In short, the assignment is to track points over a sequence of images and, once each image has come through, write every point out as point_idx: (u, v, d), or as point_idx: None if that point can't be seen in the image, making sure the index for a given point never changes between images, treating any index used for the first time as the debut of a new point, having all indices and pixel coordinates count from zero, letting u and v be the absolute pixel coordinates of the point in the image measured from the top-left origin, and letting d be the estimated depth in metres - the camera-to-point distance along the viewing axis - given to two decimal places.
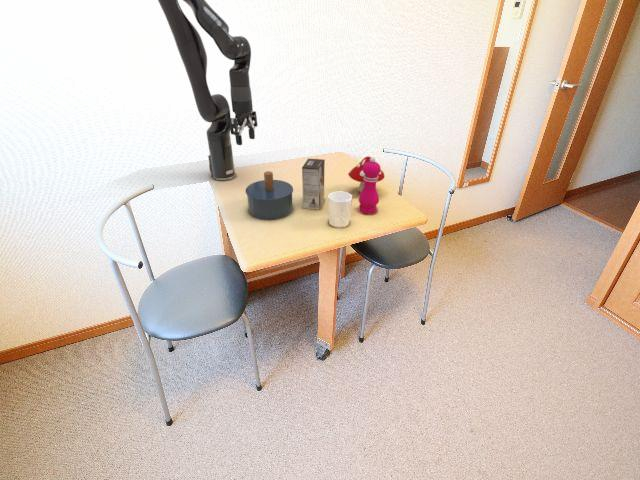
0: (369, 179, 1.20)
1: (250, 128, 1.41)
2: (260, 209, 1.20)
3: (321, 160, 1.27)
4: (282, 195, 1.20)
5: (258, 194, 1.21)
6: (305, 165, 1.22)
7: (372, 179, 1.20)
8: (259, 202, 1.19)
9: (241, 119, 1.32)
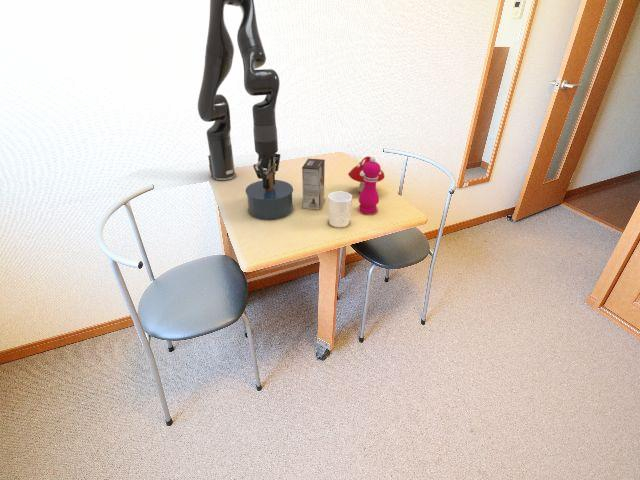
0: (369, 179, 1.20)
1: None
2: (260, 209, 1.20)
3: (321, 160, 1.27)
4: (282, 195, 1.20)
5: (258, 194, 1.21)
6: (305, 165, 1.22)
7: (372, 179, 1.20)
8: (259, 202, 1.19)
9: (265, 160, 1.16)
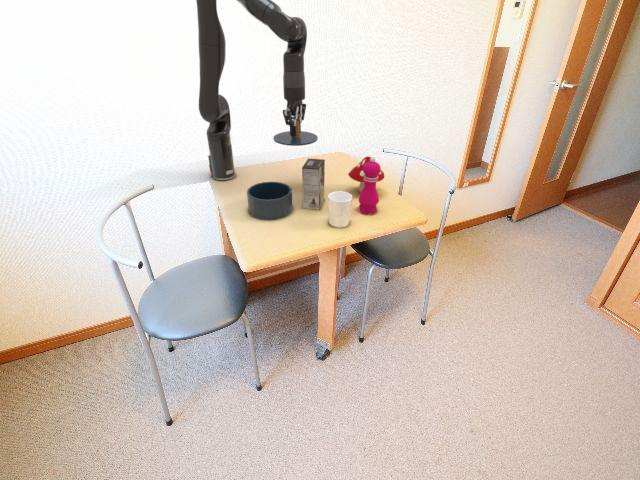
0: (369, 179, 1.20)
1: None
2: (260, 209, 1.20)
3: (321, 160, 1.27)
4: (308, 141, 1.28)
5: (286, 140, 1.29)
6: (305, 165, 1.22)
7: (372, 179, 1.20)
8: (259, 202, 1.19)
9: (293, 106, 1.24)
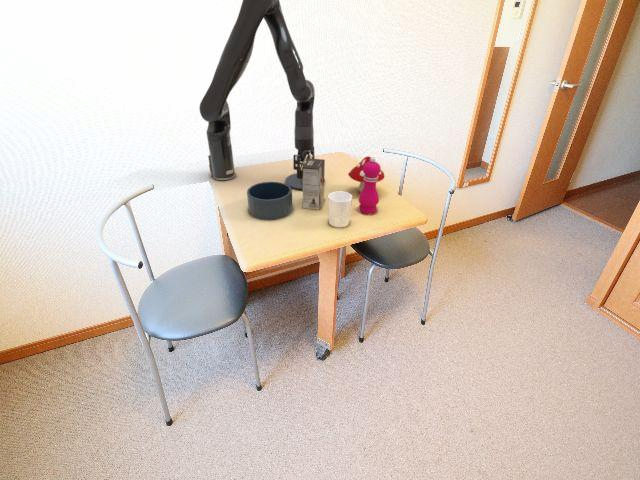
0: (369, 179, 1.20)
1: None
2: (260, 209, 1.20)
3: (321, 160, 1.27)
4: None
5: (296, 184, 1.45)
6: (305, 165, 1.22)
7: (372, 179, 1.20)
8: (259, 202, 1.19)
9: (303, 155, 1.40)
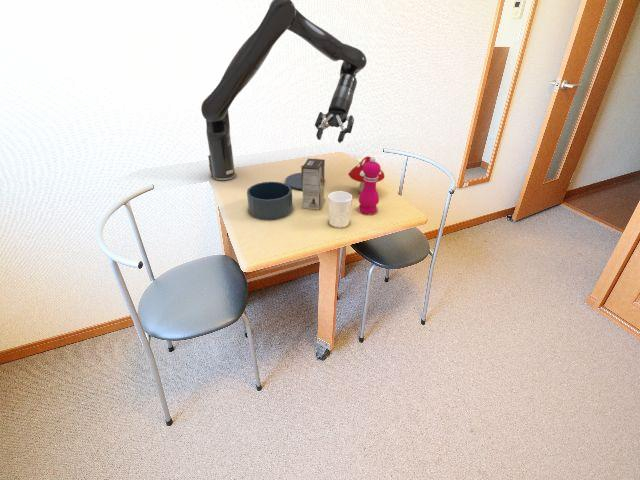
0: (369, 179, 1.20)
1: (322, 128, 1.34)
2: (260, 209, 1.20)
3: (321, 160, 1.27)
4: None
5: (296, 184, 1.45)
6: (305, 165, 1.22)
7: (372, 179, 1.20)
8: (259, 202, 1.19)
9: None
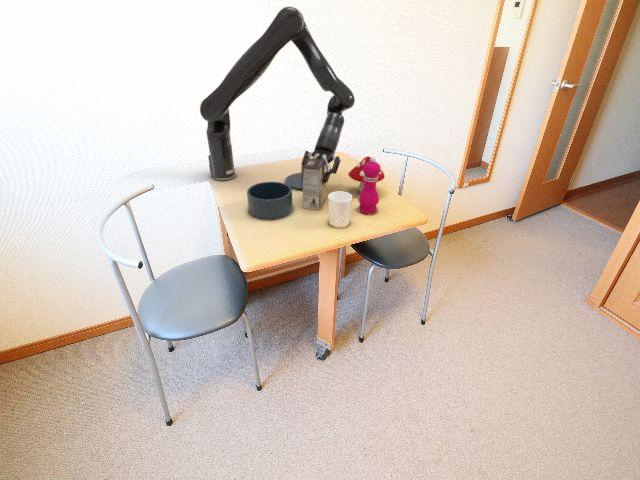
0: (369, 179, 1.20)
1: None
2: (260, 209, 1.20)
3: (321, 160, 1.27)
4: None
5: (296, 184, 1.45)
6: (305, 165, 1.22)
7: (372, 179, 1.20)
8: (259, 202, 1.19)
9: None
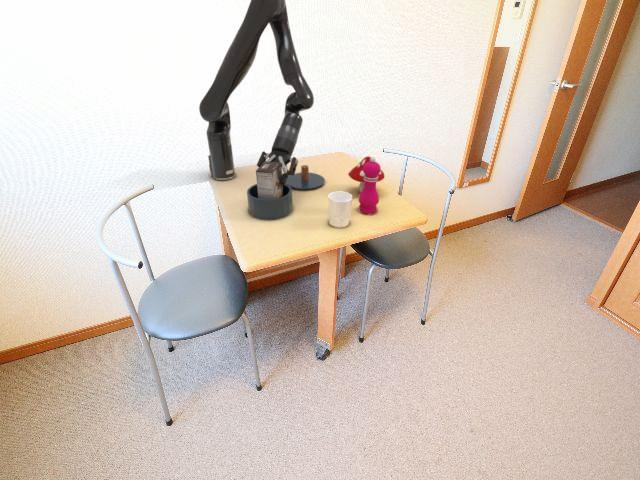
0: (369, 179, 1.20)
1: None
2: (260, 209, 1.20)
3: (277, 163, 1.22)
4: (316, 185, 1.45)
5: (296, 184, 1.45)
6: (259, 168, 1.18)
7: (372, 179, 1.20)
8: (259, 202, 1.19)
9: None
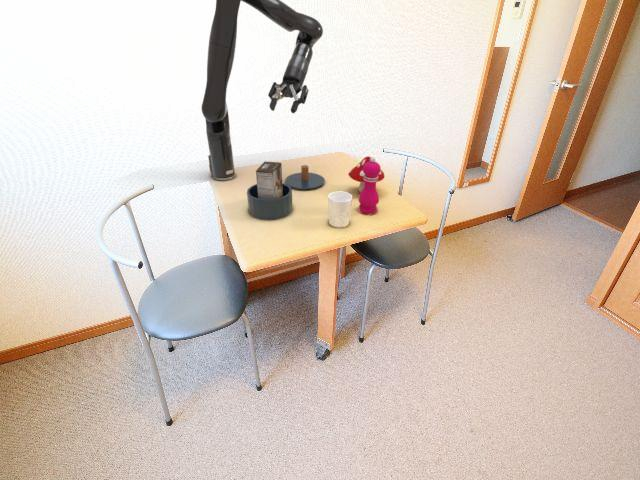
0: (369, 179, 1.20)
1: (275, 99, 1.29)
2: (260, 209, 1.20)
3: (277, 163, 1.22)
4: (316, 185, 1.45)
5: (296, 184, 1.45)
6: (259, 168, 1.18)
7: (372, 179, 1.20)
8: (259, 202, 1.19)
9: None
